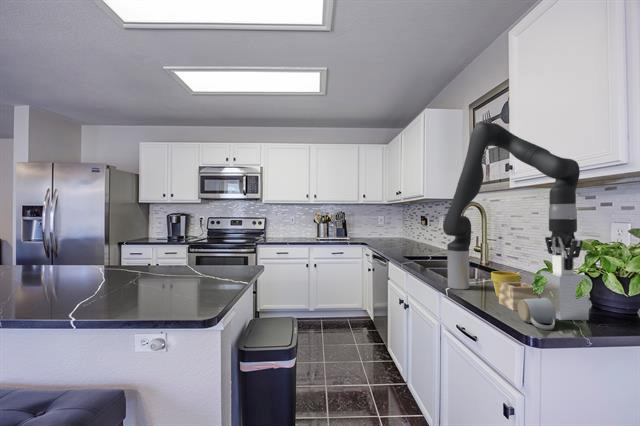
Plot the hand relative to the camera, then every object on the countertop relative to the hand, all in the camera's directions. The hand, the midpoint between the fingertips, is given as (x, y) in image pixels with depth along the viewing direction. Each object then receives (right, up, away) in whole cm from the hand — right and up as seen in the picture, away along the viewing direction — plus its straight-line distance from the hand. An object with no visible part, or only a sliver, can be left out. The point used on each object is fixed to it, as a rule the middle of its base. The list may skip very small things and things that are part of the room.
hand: (563, 268), depth 105 cm
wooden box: (-9, -16, +10) cm, 21 cm away
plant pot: (-6, -16, +23) cm, 29 cm away
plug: (0, -5, 0) cm, 5 cm away
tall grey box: (0, -16, 0) cm, 16 cm away
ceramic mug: (-13, -16, -8) cm, 22 cm away
